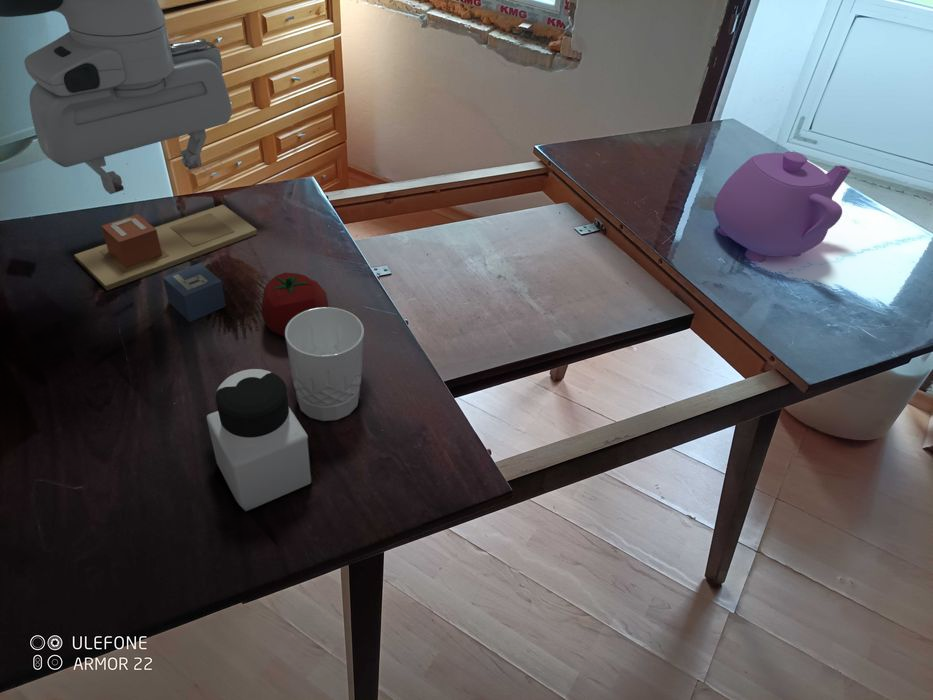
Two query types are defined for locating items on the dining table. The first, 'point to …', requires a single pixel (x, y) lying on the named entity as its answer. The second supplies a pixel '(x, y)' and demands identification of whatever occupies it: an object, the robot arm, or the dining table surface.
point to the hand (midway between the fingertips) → (154, 178)
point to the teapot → (779, 205)
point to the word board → (171, 246)
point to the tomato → (290, 299)
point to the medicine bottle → (258, 438)
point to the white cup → (326, 361)
